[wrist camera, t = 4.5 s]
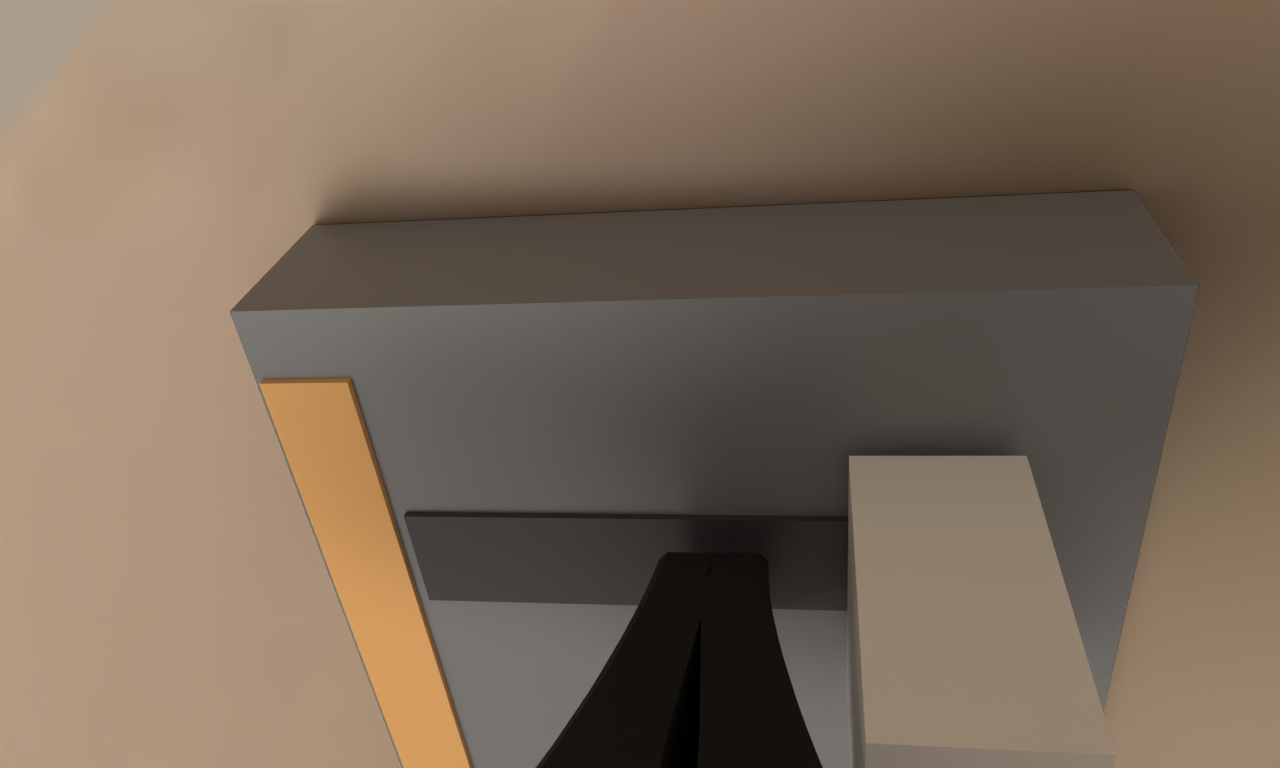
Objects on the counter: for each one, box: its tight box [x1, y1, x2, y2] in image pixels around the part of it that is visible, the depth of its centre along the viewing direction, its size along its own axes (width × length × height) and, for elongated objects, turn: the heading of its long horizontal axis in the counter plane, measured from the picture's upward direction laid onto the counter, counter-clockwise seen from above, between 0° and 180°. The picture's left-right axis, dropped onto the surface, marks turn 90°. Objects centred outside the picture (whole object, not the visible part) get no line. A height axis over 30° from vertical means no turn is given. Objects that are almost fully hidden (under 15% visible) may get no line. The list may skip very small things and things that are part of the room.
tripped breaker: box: [847, 456, 1116, 768], centre depth 11 cm, size 2×4×4 cm, turn 6°
